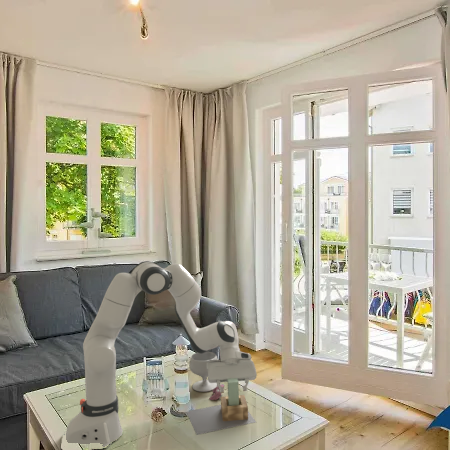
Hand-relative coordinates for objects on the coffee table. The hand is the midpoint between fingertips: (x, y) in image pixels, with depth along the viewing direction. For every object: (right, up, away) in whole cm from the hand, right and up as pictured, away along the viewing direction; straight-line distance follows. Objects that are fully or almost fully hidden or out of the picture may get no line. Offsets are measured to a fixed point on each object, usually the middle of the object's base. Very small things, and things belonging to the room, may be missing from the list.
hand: (233, 391), depth 165 cm
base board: (-5, -11, -1) cm, 12 cm away
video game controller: (-7, -10, +18) cm, 22 cm away
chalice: (-13, -10, +29) cm, 34 cm away
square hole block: (0, -9, +1) cm, 9 cm away
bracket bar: (0, -9, +1) cm, 9 cm away
